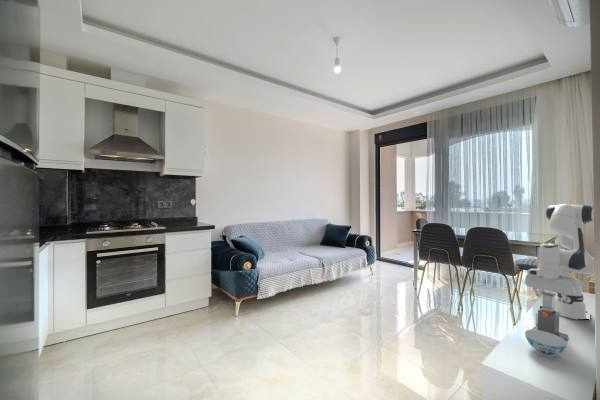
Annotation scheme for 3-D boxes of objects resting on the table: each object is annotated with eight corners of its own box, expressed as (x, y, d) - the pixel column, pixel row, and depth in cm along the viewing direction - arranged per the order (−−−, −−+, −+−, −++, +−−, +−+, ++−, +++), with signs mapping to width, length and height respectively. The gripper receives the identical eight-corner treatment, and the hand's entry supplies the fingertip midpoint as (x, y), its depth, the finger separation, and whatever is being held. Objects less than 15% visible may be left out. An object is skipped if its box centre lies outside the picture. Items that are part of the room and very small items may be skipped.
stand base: (537, 327, 156) (537, 304, 156) (568, 337, 145) (568, 312, 145) (528, 333, 149) (528, 309, 149) (560, 344, 138) (560, 318, 138)
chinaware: (571, 356, 128) (571, 339, 128) (560, 366, 120) (560, 349, 120) (531, 341, 141) (531, 327, 141) (519, 350, 133) (519, 334, 133)
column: (544, 330, 150) (544, 290, 150) (555, 333, 146) (555, 293, 146) (541, 332, 148) (541, 292, 148) (552, 335, 144) (552, 294, 144)
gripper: (577, 277, 140) (577, 303, 140) (528, 268, 157) (527, 292, 157) (573, 279, 136) (573, 306, 136) (523, 269, 154) (523, 294, 154)
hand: (548, 298), depth 147 cm, fingers open, 8 cm apart
